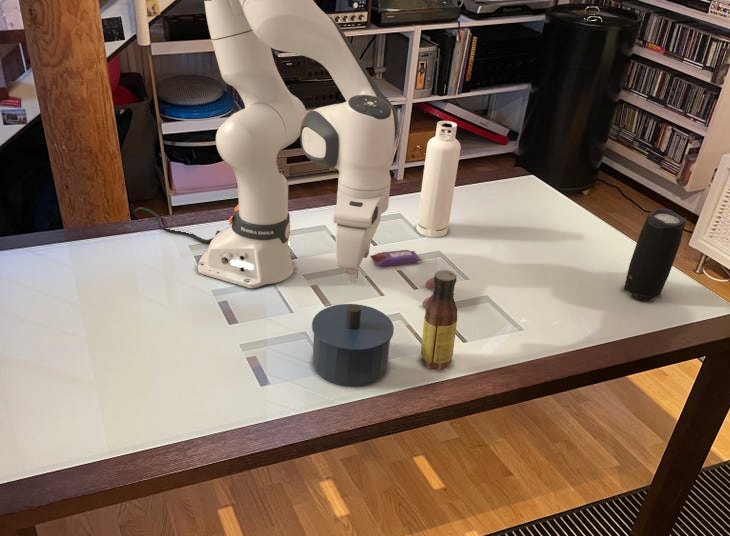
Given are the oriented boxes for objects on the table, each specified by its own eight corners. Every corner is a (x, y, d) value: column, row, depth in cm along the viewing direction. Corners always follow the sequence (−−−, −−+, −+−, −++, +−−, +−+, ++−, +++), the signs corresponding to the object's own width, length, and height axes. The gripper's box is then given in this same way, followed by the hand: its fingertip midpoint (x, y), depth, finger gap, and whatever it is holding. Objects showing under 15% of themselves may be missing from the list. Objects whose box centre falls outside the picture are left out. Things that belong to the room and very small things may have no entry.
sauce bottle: (454, 357, 153) (470, 271, 142) (445, 374, 149) (461, 287, 137) (423, 349, 155) (436, 263, 144) (413, 365, 151) (426, 278, 139)
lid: (302, 345, 142) (302, 322, 138) (323, 303, 154) (324, 280, 151) (384, 361, 138) (387, 337, 135) (399, 316, 151) (402, 294, 147)
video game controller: (437, 316, 168) (456, 294, 164) (420, 306, 168) (438, 283, 164) (440, 294, 176) (457, 272, 172) (423, 284, 175) (441, 261, 171)
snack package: (414, 247, 187) (422, 257, 183) (413, 254, 188) (421, 264, 184) (370, 252, 184) (377, 262, 180) (369, 259, 185) (376, 269, 182)
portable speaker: (625, 301, 173) (651, 223, 161) (618, 281, 180) (642, 204, 169) (664, 305, 172) (693, 227, 160) (656, 285, 179) (683, 208, 168)
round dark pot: (304, 378, 147) (305, 342, 142) (323, 337, 158) (325, 302, 153) (378, 393, 144) (382, 356, 139) (392, 350, 155) (397, 315, 150)
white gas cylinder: (448, 225, 202) (465, 120, 185) (446, 238, 195) (463, 131, 179) (418, 221, 203) (431, 116, 186) (414, 234, 197) (428, 127, 180)
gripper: (358, 171, 138) (353, 240, 147) (330, 218, 122) (327, 292, 131) (392, 176, 137) (386, 244, 145) (368, 224, 121) (362, 298, 129)
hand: (357, 267), depth 138 cm, fingers open, 8 cm apart
